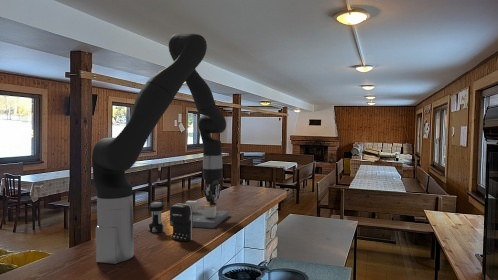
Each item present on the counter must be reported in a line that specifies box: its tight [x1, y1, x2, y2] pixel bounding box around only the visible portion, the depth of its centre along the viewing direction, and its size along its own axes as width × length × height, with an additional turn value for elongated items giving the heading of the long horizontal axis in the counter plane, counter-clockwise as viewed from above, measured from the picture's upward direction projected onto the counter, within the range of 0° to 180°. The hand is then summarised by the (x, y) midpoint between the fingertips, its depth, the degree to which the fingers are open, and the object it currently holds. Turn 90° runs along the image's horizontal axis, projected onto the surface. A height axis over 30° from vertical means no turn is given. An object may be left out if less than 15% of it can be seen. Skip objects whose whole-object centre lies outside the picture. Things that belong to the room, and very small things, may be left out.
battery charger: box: [169, 203, 193, 242], centre depth 113 cm, size 7×4×11 cm, turn 64°
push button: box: [147, 201, 165, 234], centre depth 123 cm, size 7×5×10 cm
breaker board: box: [169, 200, 230, 229], centre depth 137 cm, size 18×17×6 cm
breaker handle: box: [203, 204, 217, 218], centre depth 133 cm, size 2×4×4 cm, turn 76°
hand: (213, 211), depth 137 cm, fingers closed
